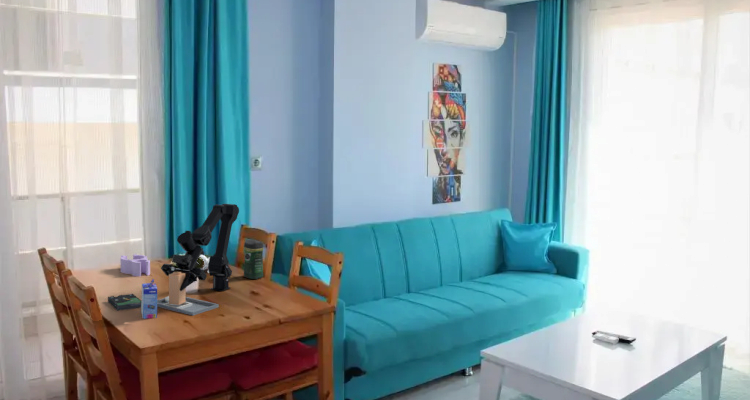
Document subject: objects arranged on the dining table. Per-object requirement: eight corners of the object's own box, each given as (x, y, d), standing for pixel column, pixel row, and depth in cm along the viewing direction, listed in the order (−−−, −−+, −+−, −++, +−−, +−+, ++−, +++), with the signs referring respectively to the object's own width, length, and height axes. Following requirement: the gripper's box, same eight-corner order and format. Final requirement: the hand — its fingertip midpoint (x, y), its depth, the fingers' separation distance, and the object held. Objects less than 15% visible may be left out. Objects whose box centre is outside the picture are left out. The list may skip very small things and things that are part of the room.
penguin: (217, 274, 333) (191, 266, 324) (223, 258, 334) (197, 250, 325) (223, 277, 326) (196, 269, 317) (229, 261, 327) (203, 253, 318)
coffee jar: (265, 278, 315) (266, 240, 313) (252, 280, 310) (252, 242, 308) (254, 274, 322) (255, 237, 320) (241, 276, 317) (241, 239, 315)
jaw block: (175, 300, 264) (175, 270, 262) (185, 302, 263) (185, 271, 261) (169, 303, 260) (168, 273, 258) (178, 305, 258) (178, 274, 257)
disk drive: (107, 303, 267) (117, 312, 255) (107, 296, 267) (117, 305, 255) (132, 299, 273) (144, 308, 262) (132, 293, 273) (143, 301, 261)
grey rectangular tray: (150, 306, 262) (150, 299, 262) (176, 299, 274) (176, 292, 274) (192, 317, 250) (192, 310, 250) (218, 309, 262) (218, 302, 262)
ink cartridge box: (158, 319, 246) (157, 282, 244) (142, 321, 244) (142, 283, 242) (155, 312, 255) (155, 276, 253) (140, 313, 253) (140, 277, 251)
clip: (156, 274, 316) (156, 260, 315) (131, 277, 308) (130, 263, 307) (140, 266, 331) (140, 253, 330) (116, 269, 322) (115, 256, 322)
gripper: (163, 244, 265) (146, 276, 256) (202, 248, 259) (186, 281, 250) (175, 259, 273) (159, 291, 264) (213, 263, 268) (198, 296, 259)
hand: (175, 289), depth 259 cm, fingers closed on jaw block, 4 cm apart
